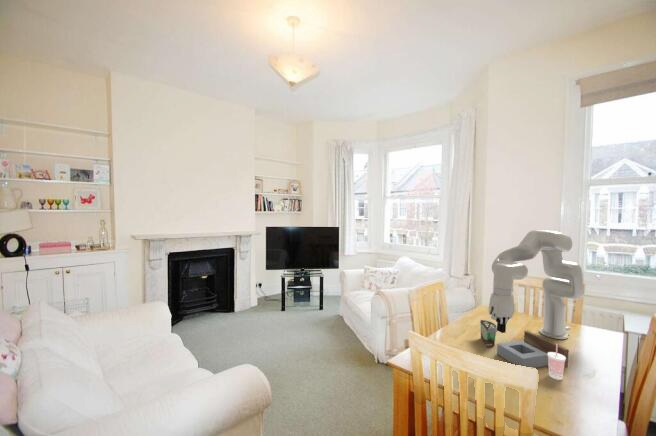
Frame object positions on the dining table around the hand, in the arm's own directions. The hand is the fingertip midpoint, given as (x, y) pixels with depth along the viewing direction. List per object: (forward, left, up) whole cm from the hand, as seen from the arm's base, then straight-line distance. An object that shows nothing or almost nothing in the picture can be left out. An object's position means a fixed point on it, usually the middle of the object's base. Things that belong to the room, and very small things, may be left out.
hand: (501, 331), depth 132 cm
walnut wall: (-25, 0, -15) cm, 29 cm away
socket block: (-12, 0, -15) cm, 19 cm away
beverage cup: (-14, +14, -15) cm, 25 cm away
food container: (-10, -17, -15) cm, 25 cm away
